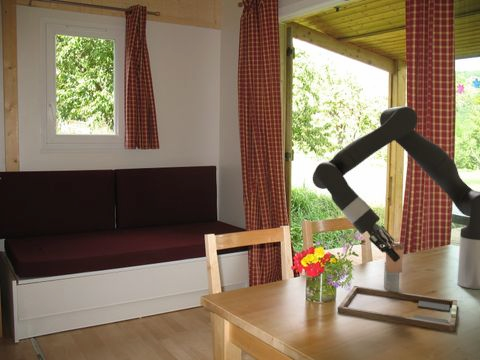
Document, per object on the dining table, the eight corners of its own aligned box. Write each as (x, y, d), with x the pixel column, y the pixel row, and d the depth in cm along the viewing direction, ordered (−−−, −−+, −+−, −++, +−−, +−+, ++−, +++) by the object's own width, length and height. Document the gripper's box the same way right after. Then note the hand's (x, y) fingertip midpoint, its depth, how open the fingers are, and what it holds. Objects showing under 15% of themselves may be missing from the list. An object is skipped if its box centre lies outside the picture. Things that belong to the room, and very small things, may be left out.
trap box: (354, 290, 173) (354, 283, 172) (456, 305, 159) (457, 298, 159) (337, 312, 152) (338, 304, 152) (454, 331, 139) (454, 323, 139)
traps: (419, 301, 163) (419, 299, 163) (449, 305, 159) (449, 304, 159) (412, 323, 145) (412, 321, 145) (446, 328, 141) (446, 326, 141)
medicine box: (399, 293, 171) (400, 267, 170) (385, 292, 172) (386, 266, 171) (396, 286, 178) (397, 261, 177) (383, 285, 179) (384, 260, 178)
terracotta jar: (386, 267, 159) (387, 242, 158) (403, 269, 157) (404, 244, 156) (384, 271, 154) (385, 245, 153) (401, 273, 152) (402, 247, 151)
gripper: (365, 210, 150) (405, 255, 146) (373, 204, 163) (411, 245, 159) (346, 226, 153) (386, 271, 149) (356, 219, 166) (393, 259, 162)
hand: (399, 257), depth 154 cm, fingers closed on terracotta jar, 5 cm apart
